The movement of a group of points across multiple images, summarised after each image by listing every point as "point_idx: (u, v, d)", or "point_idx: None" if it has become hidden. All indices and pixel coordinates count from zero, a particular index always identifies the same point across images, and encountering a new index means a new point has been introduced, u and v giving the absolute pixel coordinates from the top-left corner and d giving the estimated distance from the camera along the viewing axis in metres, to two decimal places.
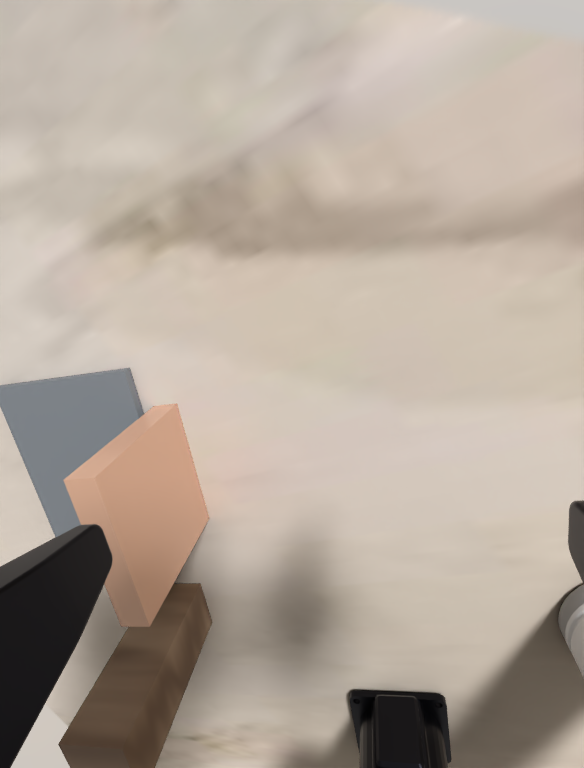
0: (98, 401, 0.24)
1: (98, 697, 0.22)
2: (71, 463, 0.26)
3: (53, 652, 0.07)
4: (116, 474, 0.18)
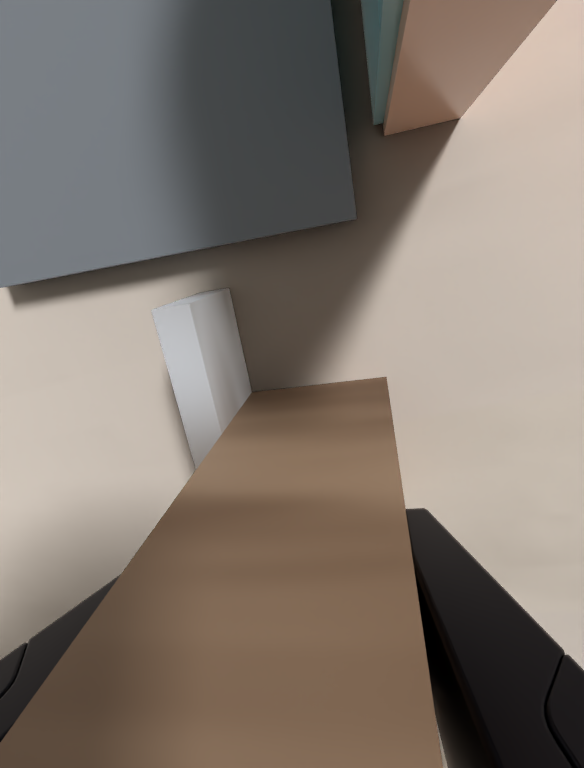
0: None
1: (106, 690, 0.04)
2: None
3: None
4: None
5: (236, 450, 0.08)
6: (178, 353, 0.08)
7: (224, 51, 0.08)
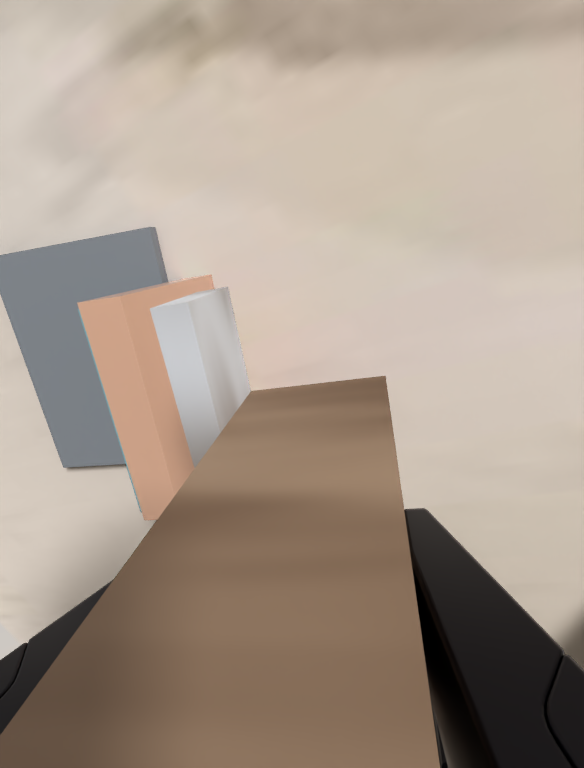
0: (115, 269, 0.20)
1: (103, 690, 0.04)
2: (79, 354, 0.22)
3: None
4: (145, 309, 0.14)
5: (235, 449, 0.08)
6: (177, 352, 0.08)
7: None
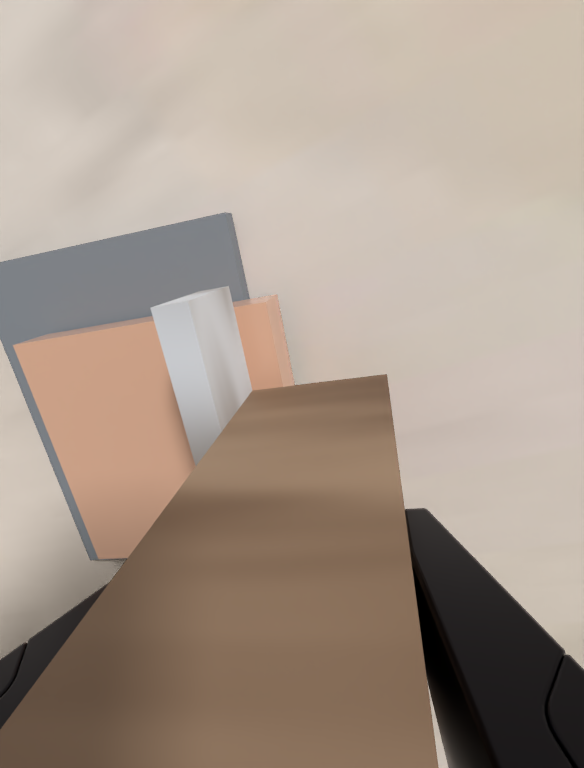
0: (170, 281, 0.13)
1: (101, 686, 0.04)
2: None
3: None
4: (55, 359, 0.13)
5: (235, 447, 0.08)
6: (177, 351, 0.08)
7: None
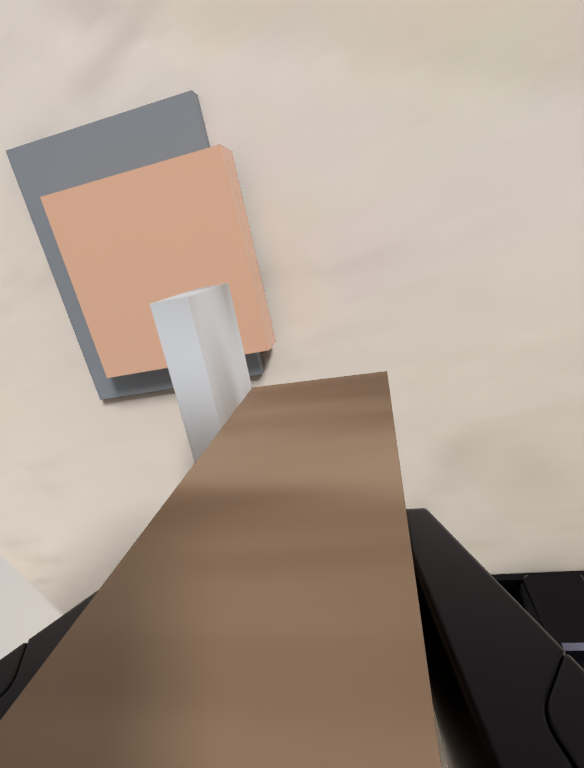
0: (154, 149, 0.17)
1: (101, 679, 0.04)
2: None
3: None
4: (71, 205, 0.17)
5: (235, 444, 0.08)
6: (177, 347, 0.08)
7: None
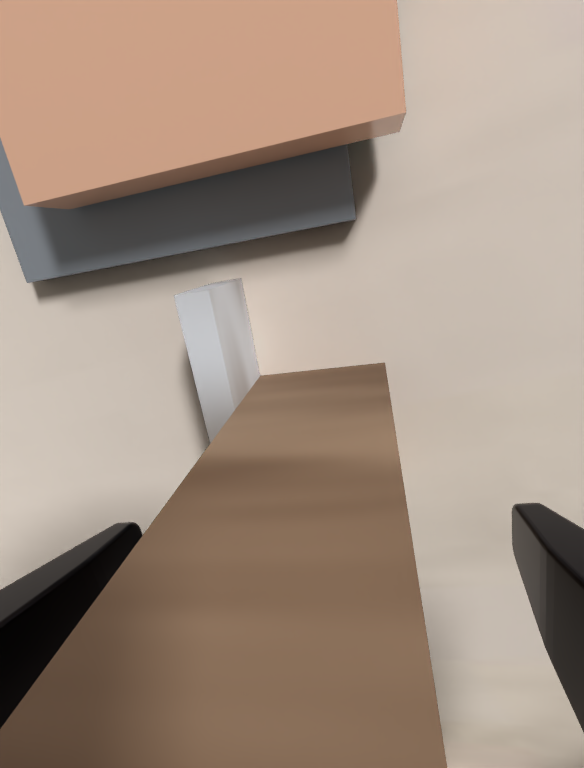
0: None
1: (157, 593, 0.05)
2: None
3: None
4: None
5: (249, 423, 0.09)
6: (197, 335, 0.09)
7: None
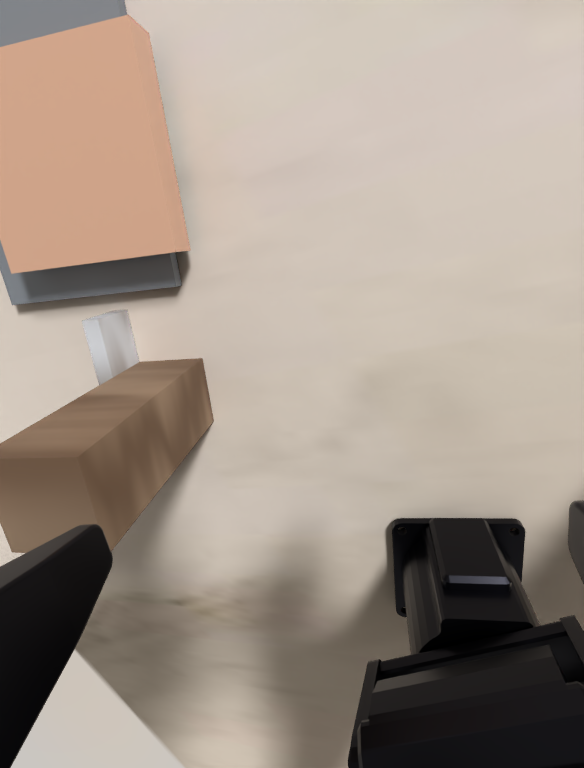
0: (69, 25, 0.17)
1: (46, 426, 0.15)
2: None
3: (53, 652, 0.07)
4: None
5: (114, 382, 0.19)
6: (93, 340, 0.19)
7: None
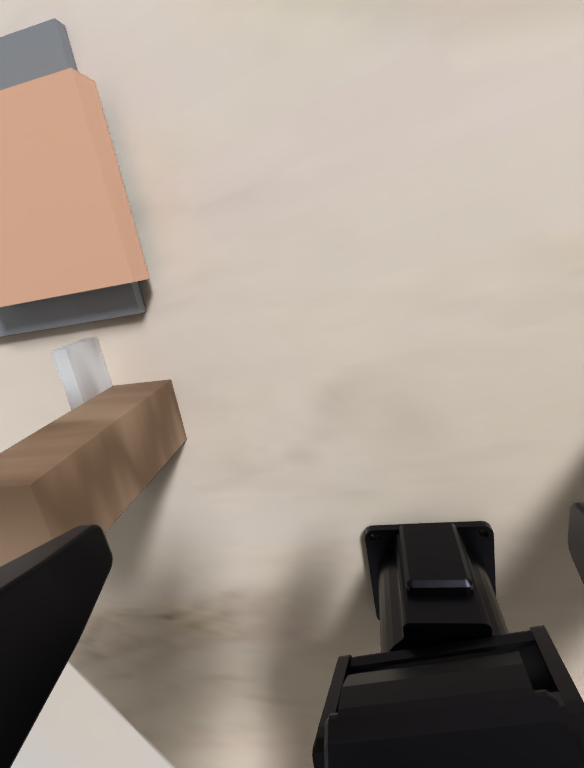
0: (23, 78, 0.18)
1: (10, 455, 0.15)
2: None
3: (53, 652, 0.07)
4: None
5: (83, 408, 0.20)
6: (63, 368, 0.20)
7: None
